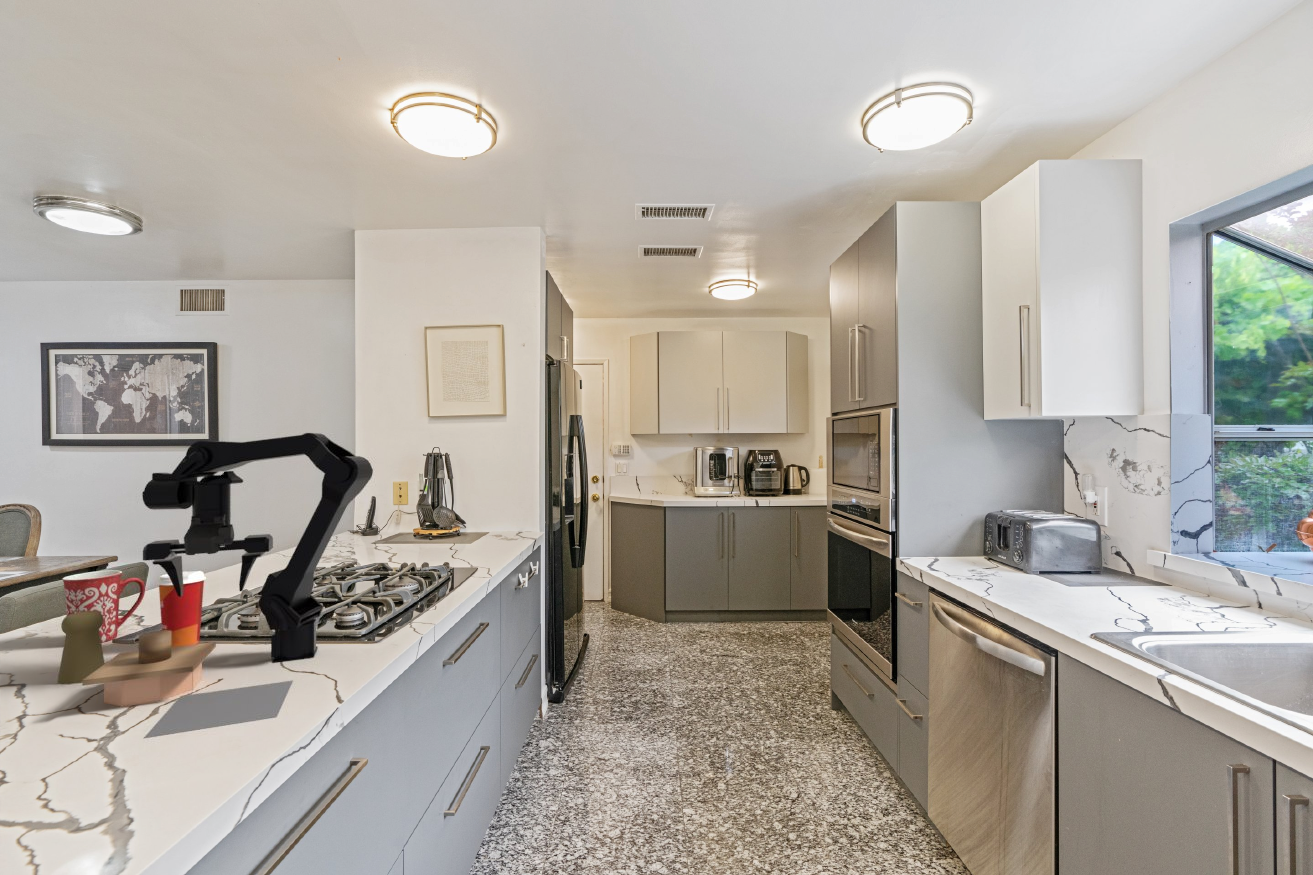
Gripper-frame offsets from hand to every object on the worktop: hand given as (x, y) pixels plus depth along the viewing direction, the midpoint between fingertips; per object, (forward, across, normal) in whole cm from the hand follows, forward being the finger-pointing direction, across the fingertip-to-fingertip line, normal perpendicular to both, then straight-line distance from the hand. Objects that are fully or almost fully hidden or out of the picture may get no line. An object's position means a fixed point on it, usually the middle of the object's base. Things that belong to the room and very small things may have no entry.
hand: (211, 593), depth 111 cm
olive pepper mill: (+12, -18, -1) cm, 22 cm away
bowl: (+12, -4, -15) cm, 20 cm away
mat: (+12, +7, -28) cm, 31 cm away
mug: (+12, -23, +25) cm, 36 cm away
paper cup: (+12, -7, +13) cm, 19 cm away
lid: (+8, -4, -15) cm, 18 cm away
